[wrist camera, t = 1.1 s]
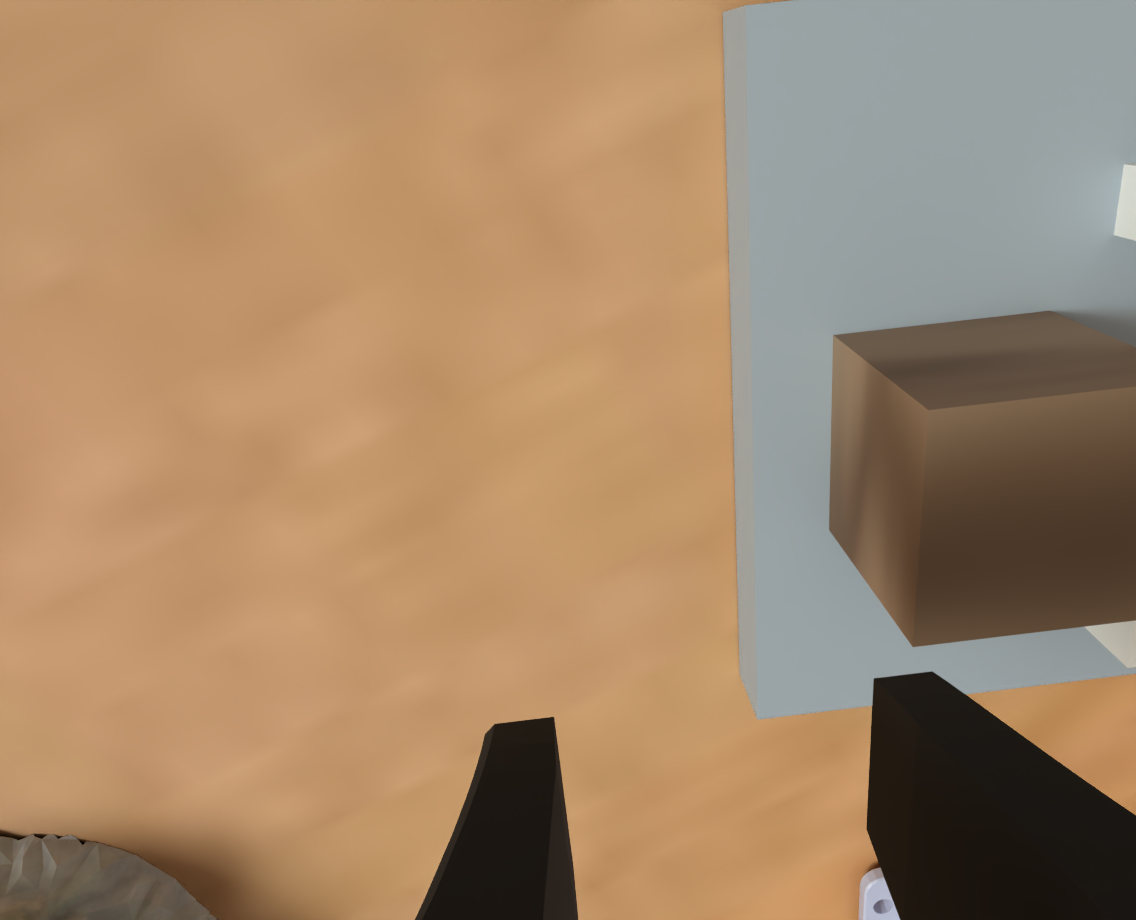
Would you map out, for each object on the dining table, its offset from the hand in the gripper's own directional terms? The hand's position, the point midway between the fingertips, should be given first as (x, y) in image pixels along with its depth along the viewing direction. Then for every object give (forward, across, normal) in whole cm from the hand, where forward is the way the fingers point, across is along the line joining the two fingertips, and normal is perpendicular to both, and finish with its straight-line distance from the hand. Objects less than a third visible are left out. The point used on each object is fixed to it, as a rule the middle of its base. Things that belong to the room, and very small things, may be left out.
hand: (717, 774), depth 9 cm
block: (+8, -6, 0) cm, 10 cm away
